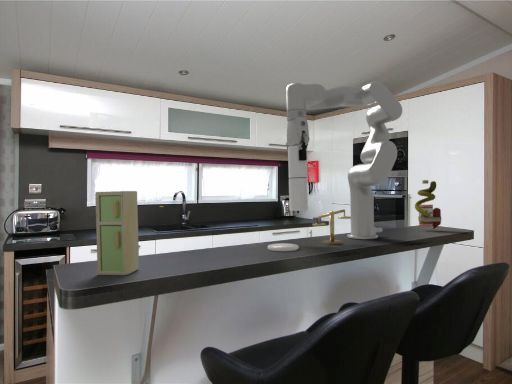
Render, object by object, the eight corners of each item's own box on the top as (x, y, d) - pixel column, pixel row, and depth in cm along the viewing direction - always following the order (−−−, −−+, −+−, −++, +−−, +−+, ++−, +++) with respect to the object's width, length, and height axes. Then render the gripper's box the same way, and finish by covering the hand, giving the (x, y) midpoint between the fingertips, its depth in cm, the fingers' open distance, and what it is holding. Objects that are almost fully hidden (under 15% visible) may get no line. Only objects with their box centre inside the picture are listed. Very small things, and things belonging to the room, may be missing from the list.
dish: (289, 245, 121) (289, 242, 121) (304, 249, 111) (304, 246, 111) (262, 247, 117) (262, 244, 117) (276, 252, 107) (276, 249, 107)
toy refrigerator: (94, 275, 79) (93, 191, 79) (112, 268, 87) (111, 191, 87) (123, 276, 78) (122, 190, 78) (139, 269, 85) (138, 191, 85)
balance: (345, 241, 129) (345, 208, 129) (354, 242, 124) (353, 209, 125) (310, 244, 122) (309, 210, 122) (317, 246, 118) (316, 210, 118)
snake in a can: (416, 231, 156) (415, 180, 156) (414, 229, 165) (413, 180, 165) (443, 232, 151) (442, 179, 151) (440, 229, 161) (439, 180, 161)
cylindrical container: (286, 210, 124) (285, 146, 124) (293, 209, 131) (291, 148, 130) (304, 210, 121) (302, 144, 121) (310, 209, 127) (308, 146, 127)
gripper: (317, 111, 119) (318, 159, 119) (293, 121, 135) (294, 163, 135) (299, 110, 116) (300, 159, 116) (277, 120, 132) (278, 163, 132)
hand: (297, 161), depth 126 cm, fingers closed on cylindrical container, 7 cm apart
